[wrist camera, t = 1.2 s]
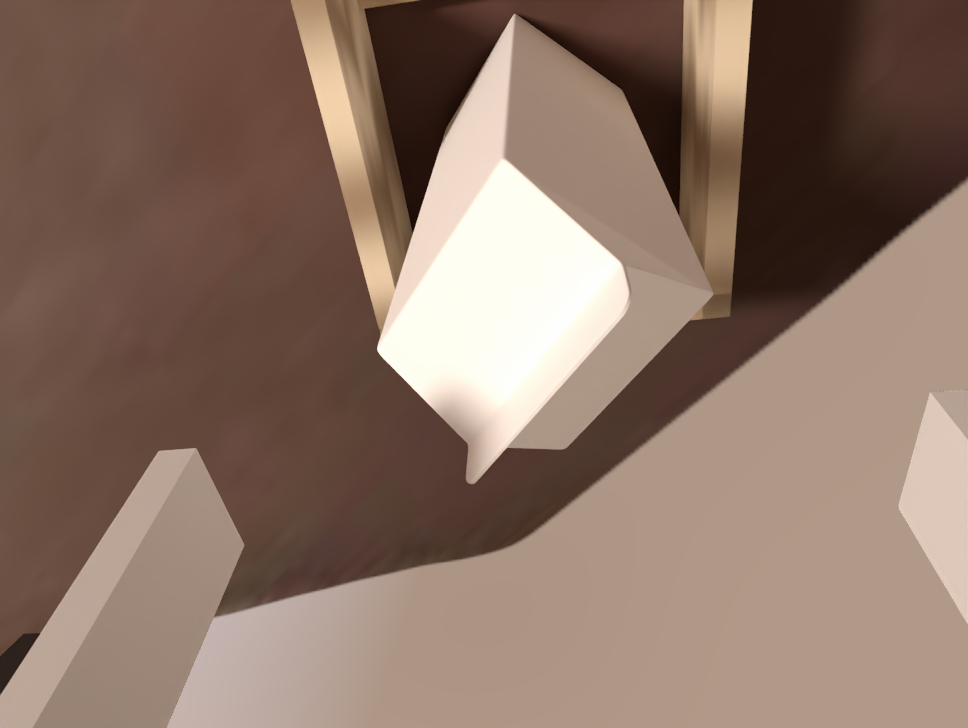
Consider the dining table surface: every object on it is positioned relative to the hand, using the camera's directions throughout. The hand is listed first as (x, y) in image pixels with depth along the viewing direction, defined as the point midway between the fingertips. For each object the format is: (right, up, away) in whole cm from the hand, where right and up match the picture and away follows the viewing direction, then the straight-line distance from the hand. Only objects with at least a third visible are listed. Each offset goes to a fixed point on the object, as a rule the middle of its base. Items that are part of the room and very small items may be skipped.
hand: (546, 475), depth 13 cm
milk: (+1, +14, +19) cm, 24 cm away
